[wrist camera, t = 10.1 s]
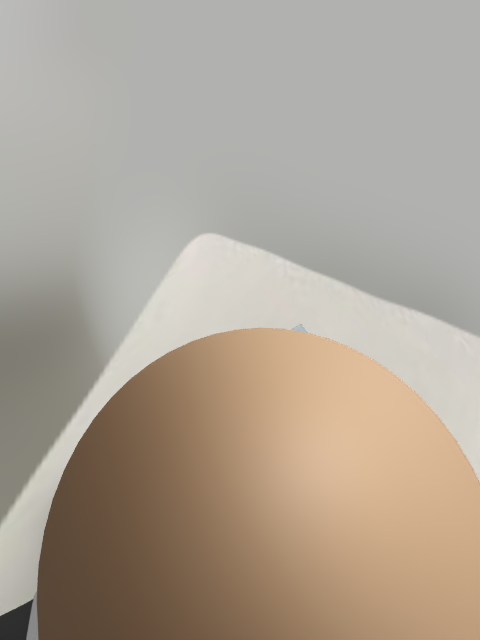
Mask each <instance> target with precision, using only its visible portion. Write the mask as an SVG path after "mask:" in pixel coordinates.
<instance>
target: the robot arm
mask: <svg viewBox="0 0 480 640" xmlns="http://www.w3.org/2000/svg"><path fill="white" fill-rule="evenodd" d="M0 640H38V620H37V592H36V594H35V596H34V599H33V600H31V601H29V602H27V603H26V604H24V605H22V606H20V607H18V608H16V609H14V610H12V611H10V612H8V613H6V614H4V615H2V616H0Z"/></svg>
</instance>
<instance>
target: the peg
mask: <svg viewBox="0 0 480 640" xmlns="http://www.w3.org/2000/svg"><path fill="white" fill-rule="evenodd" d="M37 620H38V640H480V483H479V480H478V478H477V476H476V474H475V472H474V470H473V468H472V466H471V464H470V463H469V461H468V459H467V458H466V456H465V454H464V453H463V451H462V449H461V448H460V446H459V444H458V443H457V441H456V440H455V438H454V437H453V436H452V434H451V433H450V432H449V430H448V429H447V428H446V426H445V425H444V424H443V422H442V421H441V420H440V418H439V417H438V416H437V415H436V414H435V412H434V411H433V410H432V409H431V408H430V407H429V406H428V405H427V404H426V403H425V402H424V401H423V400H422V398H421V397H420V396H419V395H418V394H417V393H416V392H414V391H413V390H412V389H411V388H410V387H409V386H408V385H406V384H405V383H404V382H403V381H402V380H401V379H399V378H398V377H397V376H396V375H395V374H393V373H392V372H390V371H389V370H387V369H386V368H384V367H383V366H382V365H380V364H379V363H377V362H376V361H374V360H373V359H371V358H369V357H367V356H365V355H363V354H361V353H360V352H358V351H356V350H354V349H352V348H350V347H348V346H345V345H343V344H340V343H338V342H335V341H333V340H330V339H327V338H324V337H320V336H316V335H313V334H309V333H306V332H299V331H293V330H286V329H273V328H253V329H241V330H233V331H228V332H223V333H218V334H214V335H211V336H207V337H204V338H201V339H198V340H195V341H192V342H190V343H188V344H186V345H183V346H181V347H179V348H177V349H175V350H173V351H171V352H169V353H167V354H166V355H164V356H162V357H161V358H159V359H157V360H156V361H154V362H152V363H151V364H149V365H148V366H147V367H145V368H144V369H143V370H142V371H140V372H139V373H138V374H136V375H135V376H134V377H133V378H131V379H130V380H129V381H128V382H127V383H126V384H125V385H124V386H123V387H122V388H121V389H120V390H119V391H118V392H117V393H116V394H115V395H114V396H113V397H112V398H111V399H110V400H109V401H108V402H107V404H106V405H105V406H104V407H103V408H102V410H101V411H100V412H99V413H98V415H97V416H96V417H95V418H94V420H93V421H92V423H91V424H90V426H89V427H88V429H87V430H86V432H85V433H84V435H83V436H82V438H81V439H80V441H79V442H78V444H77V446H76V448H75V450H74V452H73V454H72V456H71V458H70V460H69V462H68V464H67V466H66V468H65V470H64V472H63V475H62V477H61V480H60V482H59V485H58V488H57V490H56V493H55V495H54V498H53V501H52V505H51V509H50V512H49V516H48V520H47V523H46V527H45V530H44V536H43V542H42V549H41V555H40V561H39V569H38V587H37Z"/></svg>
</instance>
